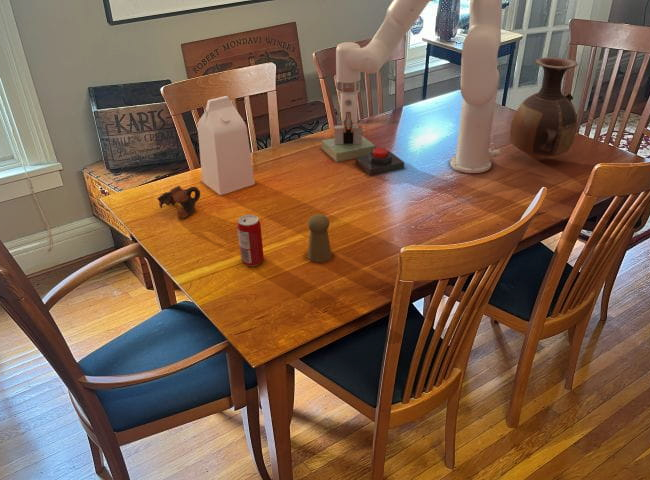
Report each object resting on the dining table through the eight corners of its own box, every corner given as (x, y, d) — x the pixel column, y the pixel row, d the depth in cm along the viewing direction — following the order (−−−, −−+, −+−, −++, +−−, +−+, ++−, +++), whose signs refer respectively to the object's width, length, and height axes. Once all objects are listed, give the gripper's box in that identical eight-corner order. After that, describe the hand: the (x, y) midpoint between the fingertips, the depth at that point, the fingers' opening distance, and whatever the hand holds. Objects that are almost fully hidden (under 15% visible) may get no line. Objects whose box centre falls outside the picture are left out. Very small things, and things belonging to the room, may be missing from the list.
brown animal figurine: (174, 225, 170) (157, 199, 167) (167, 225, 179) (152, 200, 176) (210, 202, 173) (194, 176, 171) (202, 203, 182) (187, 179, 179)
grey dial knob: (334, 144, 203) (334, 127, 200) (334, 141, 205) (334, 124, 202) (361, 144, 203) (362, 127, 199) (361, 141, 205) (362, 124, 201)
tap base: (337, 162, 199) (337, 153, 197) (321, 148, 209) (320, 139, 207) (375, 154, 203) (376, 145, 201) (358, 140, 213) (358, 132, 211)
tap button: (383, 151, 196) (383, 146, 195) (389, 157, 193) (389, 151, 192) (370, 154, 195) (370, 149, 194) (377, 159, 191) (377, 154, 190)
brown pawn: (306, 250, 157) (305, 212, 150) (330, 248, 157) (329, 210, 151) (308, 263, 152) (306, 224, 146) (332, 261, 153) (332, 222, 146)
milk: (236, 171, 196) (226, 89, 180) (255, 184, 188) (246, 99, 172) (202, 181, 190) (189, 97, 175) (220, 195, 183) (208, 109, 167)
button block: (388, 157, 201) (389, 145, 199) (404, 168, 194) (404, 156, 192) (355, 163, 198) (356, 152, 195) (370, 176, 190) (370, 164, 188)
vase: (558, 178, 186) (581, 77, 168) (495, 165, 194) (511, 67, 176) (577, 151, 201) (600, 56, 183) (518, 140, 210) (535, 48, 192)
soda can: (266, 255, 155) (262, 213, 148) (261, 267, 151) (256, 225, 144) (244, 254, 156) (240, 212, 149) (239, 266, 152) (233, 223, 145)
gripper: (361, 93, 186) (360, 151, 197) (359, 77, 199) (359, 132, 210) (336, 94, 186) (336, 151, 197) (336, 77, 199) (337, 132, 210)
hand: (348, 141), depth 204 cm, fingers closed on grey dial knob, 2 cm apart
